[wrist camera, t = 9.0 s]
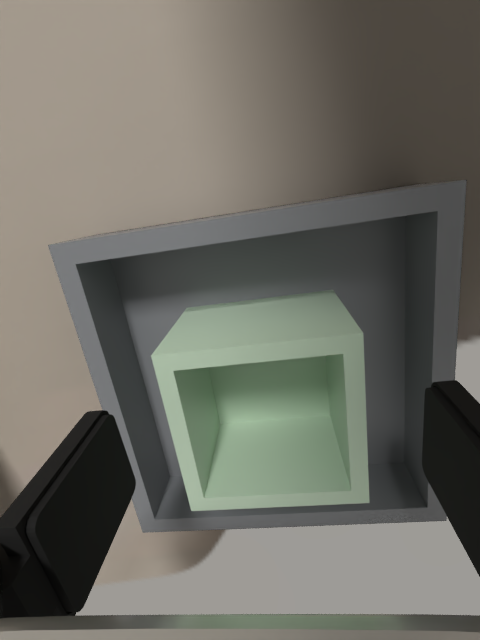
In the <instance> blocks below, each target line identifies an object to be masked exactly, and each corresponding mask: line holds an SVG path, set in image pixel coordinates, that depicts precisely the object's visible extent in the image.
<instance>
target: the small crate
mask: <svg viewBox="0 0 480 640" xmlns="http://www.w3.org/2000/svg"><path fill="white" fill-rule="evenodd" d="M151 358H152V362H153V366H154V369H155V373H156V377H157V381H158V385H159V389H160V393H161V396H162V400H163V404H164V408H165V412H166V416H167V420H168V423H169V427H170V431H171V435H172V439H173V443H174V446H175V450H176V454H177V458H178V462H179V466H180V470H181V473H182V477H183V481H184V485H185V489H186V493H187V497H188V500H189V504H190V508H191V511H206V510H228V509H250V508H271V507H293V506H315V505H337V504H359V503H369V476H368V449H367V421H366V393H365V365H364V338H363V332H362V331H361V329H360V328H359V326H358V325H357V323H356V322H355V320H354V319H353V318H352V316H351V315H350V313H349V312H348V310H347V309H346V307H345V306H344V305H343V303H342V302H341V300H340V299H339V297H338V296H337V295H336V293H335V292H334V290H327V291H319V292H311V293H303V294H295V295H287V296H278V297H270V298H262V299H254V300H246V301H238V302H230V303H222V304H214V305H205V306H197V307H189V308H186V310H185V311H184V312H183V314H182V315H181V316H180V318H179V319H178V320H177V322H176V323H175V324H174V326H173V327H172V328H171V330H170V331H169V332H168V334H167V335H166V336H165V338H164V339H163V340H162V342H161V343H160V344H159V346H158V347H157V348H156V350H155V351H154V352H153V354H152V355H151Z"/></svg>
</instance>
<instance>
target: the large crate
mask: <svg viewBox="0 0 480 640" xmlns="http://www.w3.org/2000/svg"><path fill="white" fill-rule="evenodd" d="M466 181H467V180H458V181H447V182H436V183H425V184H416V185H410V186H403V187H397V188H391V189H384V190H378V191H372V192H365V193H359V194H353V195H346V196H340V197H333V198H327V199H321V200H314V201H308V202H302V203H295V204H289V205H283V206H276V207H270V208H264V209H257V210H251V211H245V212H238V213H232V214H226V215H219V216H213V217H206V218H200V219H194V220H187V221H181V222H175V223H168V224H162V225H156V226H149V227H143V228H137V229H130V230H124V231H118V232H111V233H105V234H98V235H93V236H88V237H84V238H79V239H74V240H70V241H65V242H60V243H56V244H51V245H48V247H49V250H50V253H51V256H52V259H53V262H54V265H55V268H56V271H57V274H58V277H59V280H60V283H61V286H62V289H63V292H64V295H65V298H66V301H67V304H68V307H69V310H70V313H71V316H72V319H73V322H74V325H75V328H76V331H77V334H78V338H79V341H80V344H81V347H82V350H83V353H84V356H85V359H86V362H87V365H88V368H89V371H90V374H91V377H92V380H93V383H94V386H95V389H96V392H97V395H98V398H99V401H100V404H101V407H102V410H106V411H108V413H109V414H111V415H113V416H114V418H115V420H116V423H117V426H118V429H119V432H120V435H121V438H122V441H123V444H124V447H125V450H126V453H127V456H128V459H129V461H130V464H131V467H132V470H133V473H134V476H135V480H136V487H135V491H134V494H133V496H132V501H133V504H134V507H135V510H136V513H137V516H138V519H139V522H140V525H141V528H142V531H143V532H169V531H195V530H220V529H246V528H269V527H270V528H271V527H297V526H323V525H349V524H374V523H400V522H426V521H446V517H447V515H446V513H445V512H444V510H443V508H442V506H441V504H440V502H439V500H438V499H437V497H436V495H435V493H434V491H433V489H432V487H431V486H430V484H429V482H428V480H427V478H426V476H425V474H424V471H423V467H422V446H423V422H424V399H425V389H426V388H430V387H431V385H432V383H433V382H438V381H450V380H455V366H456V349H457V332H458V315H459V299H460V282H461V265H462V248H463V231H464V214H465V197H466ZM327 290H334V292H335V293H336V295H337V296H338V297H339V299H340V300H341V302H342V303H343V305H344V306H345V307H346V309H347V310H348V312H349V313H350V315H351V316H352V318H353V319H354V320H355V322H356V323H357V325H358V326H359V328H360V329H361V331H362V332H363V338H364V365H365V393H366V421H367V449H368V476H369V503H359V504H337V505H315V506H293V507H271V508H250V509H228V510H206V511H191V508H190V504H189V500H188V497H187V493H186V489H185V485H184V481H183V477H182V473H181V470H180V466H179V462H178V458H177V454H176V450H175V446H174V443H173V439H172V435H171V431H170V427H169V423H168V420H167V416H166V412H165V408H164V404H163V400H162V396H161V393H160V389H159V385H158V381H157V377H156V373H155V369H154V366H153V362H152V358H151V355H152V354H153V352H154V351H155V350H156V348H157V347H158V346H159V344H160V343H161V342H162V340H163V339H164V338H165V336H166V335H167V334H168V332H169V331H170V330H171V328H172V327H173V326H174V324H175V323H176V322H177V320H178V319H179V318H180V316H181V315H182V314H183V312H184V311H185V310H186V308H189V307H197V306H205V305H214V304H222V303H230V302H238V301H246V300H254V299H262V298H270V297H278V296H287V295H295V294H303V293H311V292H319V291H327Z"/></svg>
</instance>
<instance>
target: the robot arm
mask: <svg viewBox="0 0 480 640" xmlns="http://www.w3.org/2000/svg"><path fill="white" fill-rule="evenodd" d="M422 467H423V471H424V474H425V476H426V478H427V480H428V482H429V484H430V486H431V487H432V489H433V491H434V493H435V495H436V497H437V499H438V500H439V502H440V504H441V506H442V508H443V510H444V512H445V513H446V515H447V517H448V519H449V521H450V522H451V524H452V526H453V528H454V530H455V532H456V534H457V536H458V537H459V539H460V541H461V543H462V545H463V547H464V549H465V550H466V552H467V554H468V556H469V558H470V560H471V561H472V563H473V565H474V567H475V569H476V571H477V573H478V574H479V576H480V404H479V403H478V402H477V401H476V400H475V399H474V397H473V396H472V395H471V394H470V393H468V391H467V390H466V389H465V388H464V387H463V386H462V385H461V384H460V383H459V382H458V381H455V380H450V381H438V382H433V383H432V385H431V387H430V388H426V389H425V399H424V422H423V446H422ZM135 487H136V480H135V476H134V473H133V470H132V467H131V464H130V461H129V459H128V456H127V453H126V450H125V447H124V444H123V441H122V438H121V435H120V432H119V429H118V426H117V423H116V420H115V418H114V416H113V415H111V414H109V413H108V411H106V410H102V411H90V412H87V413H85V414H84V416H83V417H82V418H81V419H80V421H79V422H78V423H77V424H76V425H75V427H74V428H73V429H72V430H71V432H70V433H69V434H68V435H67V437H66V438H65V439H64V440H63V441H62V443H61V444H60V445H59V446H58V448H57V449H56V450H55V451H54V453H53V454H52V455H51V456H50V458H49V459H48V460H47V461H46V462H45V464H44V465H43V466H42V467H41V469H40V470H39V471H38V472H37V474H36V475H35V476H34V477H33V479H32V480H31V481H30V482H29V483H28V485H27V486H26V487H25V488H24V490H23V491H22V492H21V493H20V495H19V496H18V497H17V498H16V499H15V501H14V502H13V503H12V504H11V506H10V507H9V508H8V509H7V511H6V512H5V513H4V514H3V516H2V517H1V518H0V640H480V616H471V615H394V614H393V615H391V614H390V615H389V614H387V615H386V614H385V615H381V614H379V615H378V614H376V615H375V614H373V615H372V614H371V615H369V614H356V615H355V614H343V615H342V614H257V615H256V614H254V615H253V614H250V615H249V614H247V615H246V614H245V615H243V614H232V615H107V616H105V615H104V616H75V614H76V612H79V611H80V610H81V609H82V608H83V606H84V604H85V602H86V600H87V598H88V596H89V593H90V591H91V589H92V587H93V584H94V582H95V580H96V578H97V575H98V573H99V571H100V568H101V566H102V564H103V562H104V559H105V557H106V555H107V553H108V550H109V548H110V546H111V544H112V541H113V539H114V537H115V534H116V532H117V530H118V528H119V525H120V523H121V521H122V519H123V516H124V514H125V512H126V510H127V507H128V505H129V503H130V500H131V498H132V496H133V494H134V491H135Z"/></svg>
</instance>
